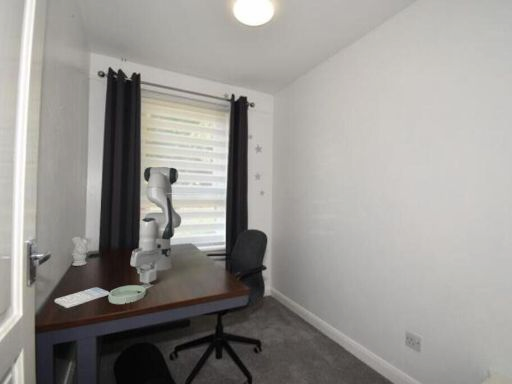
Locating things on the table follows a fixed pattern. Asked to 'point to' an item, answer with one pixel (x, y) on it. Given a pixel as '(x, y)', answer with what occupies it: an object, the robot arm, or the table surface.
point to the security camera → (147, 277)
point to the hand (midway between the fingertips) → (146, 271)
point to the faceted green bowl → (126, 294)
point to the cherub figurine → (80, 250)
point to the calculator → (81, 297)
